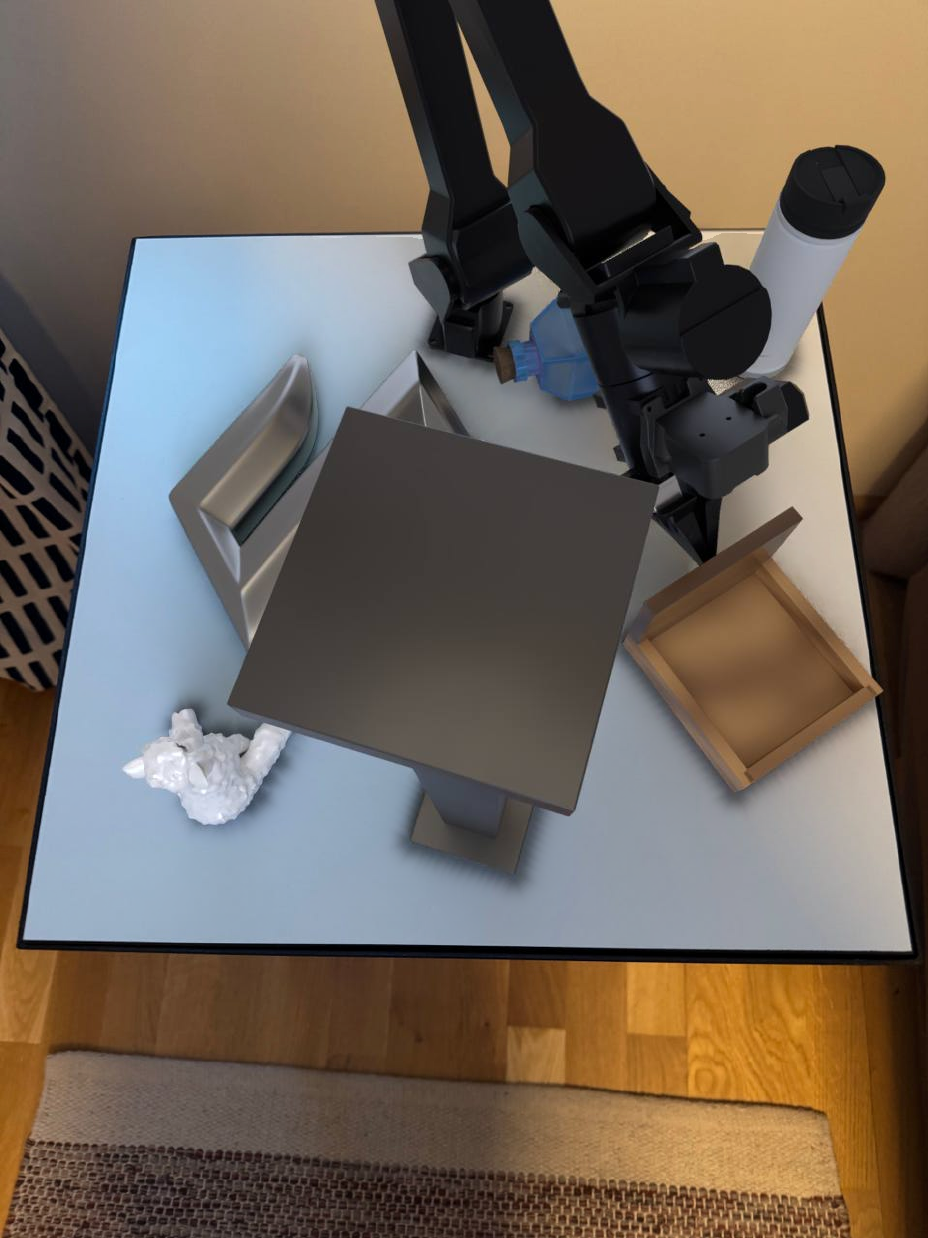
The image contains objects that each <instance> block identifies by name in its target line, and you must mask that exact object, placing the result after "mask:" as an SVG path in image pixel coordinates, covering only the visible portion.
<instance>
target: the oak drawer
mask: <svg viewBox="0 0 928 1238" xmlns="http://www.w3.org/2000/svg"><path fill="white" fill-rule="evenodd" d="M803 520H804V517H802V515H801V514H800V513H799V512H798V511H797V510H796V508H795V507H794V506H793V505H792V506H790V507H788V508H787V509H785V510H784V511H782V512H781V513H779V514H778V515H776V516H775V517H773V518H771V519H770V520H768V521H767V522H765V523H764V524H762V525H761V526H759V527H758V528H755V530H753V531H751V532H750V533H748V534H746V535H745V536H744V537H742V538H740V539H739V540H738V541H736V542H734V543H733V544H731V545H730V546H728V547H726V548H725V549H723V550H722V551H720V552H719V553H717V555H716V556H714V557H712V558H711V559H709V560H708V561H706V562H705V563H703V564H702V565H700V566H699V565H698V566H697V567H695V568H694V569H692V570H691V571H689V572H688V573H686V574H684V575H683V576H681V577H680V578H678V579H677V580H675V581H674V582H672V583H670V584H669V585H668V586H666V587H664V588H662V589H661V590H660V591H658V592H657V593H655V594H654V595H652V596H651V597H649V598H648V599H645V600H644V601H643V603H642V606H641V607H640V609H639V610H638V612H637V615H636V616H635V618H634V621H633V623H632V624H631V626H630V627H629V630H628V632H627V634H626V636H625V638H624V640H623V642H622V646H623V647H624V648H625V650H626V652H628V654H629V655H630V657H632V659H633V660H634V661H635V663H636V664H637V665H638V667H639V668H640V670H641V671H642V673H644V675H645V676H646V677H647V679H648V680H649V682H650V683H651V685H653V687H654V689H656V691H657V692H658V694H659V695H660V696H661V698H662V699H663V700H664V702H665V703H666V704H667V706H668V707H669V709H670V710H671V711H672V712H673V714H674V715H675V716H676V718H677V719H678V720H679V722H680V723H681V724H682V726H683V727H684V729H685V730H686V731H687V732H688V734H689V736H691V738H692V739H693V740H694V742H695V743H696V745H697V746H698V748H699V749H701V751H702V752H703V754H704V755H705V757H706V758H707V759H708V761H709V762H710V763H711V765H712V766H713V767H714V768H715V770H716V771H717V772H718V774H719V775H720V777H721V778H722V779H723V781H724V782H725V783H726V785H727V787H729V789H730V790H731V791H732V793H737V792H739V791H742V790H744V789H746V788H747V787H749V786H750V785H752V784H754V783H755V782H756V781H758V780H759V779H760V778H762V777H763V776H765V775H766V774H768V773H769V772H771V771H772V770H773V769H774V768H776V767H778V766H779V765H780V764H782V763H784V762H785V761H786V760H787V759H789V758H791V756H793V755H794V754H796V753H797V752H799V751H800V750H802V749H803V748H805V747H806V746H808V745H809V744H810V743H812V742H813V741H815V740H816V739H817V738H819V737H820V736H822V735H823V734H824V733H826V732H827V731H829V730H830V729H832V728H833V727H834V726H836V725H838V724H839V723H840V722H842V721H843V720H844V719H846V718H848V717H849V716H850V715H852V714H853V713H855V712H856V711H857V710H859V709H860V708H862V707H863V706H864V705H866V704H867V703H869V702H871V700H874V699H875V698H876V697H877V696H879V695H880V694H881V693H883V691H884V689H883V688H882V687H881V685H879V683H878V682H877V681H876V680H875V679H874V678H873V677H872V675H871V674H870V673H869V672H868V670H867V669H866V668H865V667H864V666H863V665H862V663H861V662H860V661H859V660H858V659H857V657H856V656H855V655H854V654H853V652H851V650H850V649H849V648H848V647H847V646H846V644H845V643H844V641H842V640H841V638H840V637H839V636H838V635H837V633H836V632H835V631H834V630H833V629H832V628H831V626H830V625H829V624H828V623H827V622H826V621H825V619H823V617H822V616H821V615H820V614H819V612H818V611H817V610H816V609H815V607H813V605H812V604H811V603H810V602H809V600H808V599H807V597H805V596H804V594H803V593H802V592H801V591H800V590H799V589H798V587H797V586H796V585H795V584H794V583H793V582H792V580H791V578H790V577H789V576H788V575H787V574H786V572H784V570H783V569H782V568H781V567H780V566H779V565H778V563H777V562H776V561H775V560H774V558H773V556H775V554H776V552H778V550H780V548H781V547H782V546H783V544H784V543H785V542H786V541H787V539H788V538H789V537H790V536H791V535H792V534H793V532H794V531H795V530H796V529H797V527H798V526H799V525H800V523H801V522H802V521H803Z"/></svg>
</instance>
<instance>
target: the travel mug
mask: <svg viewBox="0 0 928 1238" xmlns="http://www.w3.org/2000/svg"><path fill="white" fill-rule="evenodd" d="M886 180H887V177H886V172H885V170H884V167H883V165H882V164H881V162H879V160H878V159H877V158H876V157H875V156H873V155H872V154H871V153H869V152H867V151H865V150H863V149H861V148H858V147H856V146H852V145H849V144H834V146H830V145H829V146H821V147H817V148H816V147H815V148H813V149H807V150H806V151H804V152H801V153H799V155H797V157H796V158H795V159H794V161H793V163H792V165H791V167H790V170H789V173H788V175H787V177H786V180H785V183H784V184H783V187H782V188H781V190H780V193H779V194H778V197H777V199H776V202H775V204H774V207H773V210H772V211H771V214H770V216H769V219H768V221H767V224H766V227H765V228H764V232H763V234H762V236H761V239H760V241H759V244H758V246H757V248H756V251H755V254H754V255H753V258H752V260H751V263H750V266H749V268H748V270H749V271H750V272H752V273H753V274H754V275H755V276H756V277H757V278H758V280H759V281H760V283H761V284H762V286H763V287H764V288H766V289H767V290H768V294H769V297H770V300H771V308H772V321H771V329H770V333H769V337H768V340H767V343H766V345H765V347H764V349H763V351H762V353H761V354H760V356H759V357H758V359H757V360H756V362H755V363H754V364H753V365H752V366H751V367H750V368H749V369H747V370H746V371H745V372H744V373H742V374H741V375H739V376H738V377H740V378H742V379H745V378H747V377H750V378H759V377H761V376H766V377H768V378H770V379H771V378H774V377H775V376H778V375H779V374H781V372H783V370H784V369H785V368H786V367H787V365H788V363H789V361H790V359H791V358H792V356H793V354H794V353H795V350H796V349H797V347H798V345H799V343H800V341H801V339H802V338H803V336H804V334H805V333H806V331H807V329H808V327H809V325H810V323H811V322H812V320H813V318H814V316H815V314H816V312H817V311H818V309H819V307H820V306H821V304H822V302H823V300H824V298H825V296H826V294H827V292H828V291H829V289H830V288H831V285H832V283H833V282H834V280H835V278H836V276H837V275H838V272H839V271H840V270H841V268H842V266H843V264H844V261H845V260H846V258H847V257H848V255H849V253H850V252H851V250H852V247H853V246H854V244H855V242H856V240H857V238H858V237H859V235H860V233H861V231H862V229H863V228H864V226H865V224H866V222H867V220H868V218H869V215H870V213H871V212H872V210H873V209H874V206H875V205H876V203H877V201H878V199H879V197H880V195H881V193H882V192H883V190H884V188H885V186H886V182H887V181H886Z"/></svg>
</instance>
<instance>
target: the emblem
mask: <svg viewBox="0 0 928 1238" xmlns="http://www.w3.org/2000/svg"><path fill="white" fill-rule="evenodd" d="M318 406H319V405H318V398H317V391H316V385H315V380H314V375H313V372H312V367H311V365H310V362H309V359H308V357H307V356H305V355H302V354H300V353H295V354H293V355H292V356H291V357H290V358H289V359H288V360H287V361H286V362H285V364H283V366H282V367H281V368H280V370H278V371H277V373H276V374H275V376H273V378H272V379H271V380H270V381H269V383H267V385H266V386H265V387H264V388H263V389H262V390H261V391H260V392H259V393H258V394H257V396H255V398H254V399H253V400H252V401H251V402H250V403H249V404H248V405H247V406H246V407H245V408H244V409H243V410H242V411H241V413H240V414H239V415H238V416H237V417H236V418H235V419H234V420H233V421H232V422H231V424H230V425H229V426H228V427H227V428H226V429H225V430H224V431H223V432H222V433H221V435H219V437H218V438H217V439H216V440H215V441H214V442H213V443H212V445H211V446H210V447H208V449H207V450H206V451H205V452H204V453H203V455H201V457H200V458H199V459H198V460H197V461H196V462H195V463H194V465H192V467H191V468H190V469H189V470H188V471H187V472H186V473H185V474H184V475H183V477H182V478H181V479H180V480H179V481H178V482H177V483H176V484H175V485H174V486H173V487H172V489H171V490H170V491H169V494H168V501H169V504H170V506H171V508H172V510H173V512H174V514H175V516H176V519H177V520H178V522H179V524H180V526H181V528H182V530H183V532H184V534H185V536H186V538H187V540H188V542H189V543H190V546H191V547H192V550H193V551H194V553H195V555H196V557H197V560H198V561H199V563H200V566H201V567H202V569H203V571H204V572H205V575H206V576H207V578H208V581H209V582H210V585H211V586H212V588H213V590H214V592H215V594H216V596H217V598H218V600H219V602H220V604H221V606H222V608H223V610H224V611H225V613H226V616H227V617H228V619H229V622H230V624H231V625H232V627H233V629H234V631H235V632H236V635H237V636H238V639H239V640H240V642H241V644H242V647H243V648H244V649H245V651H246V653H247V652H248V650H249V647H250V645H251V642H252V640H253V637H254V635H255V632H256V630H257V627H258V625H259V622H260V620H261V617H262V615H263V612H264V610H265V608H266V605H267V603H268V600H269V598H270V595H271V593H272V590H273V588H274V585H275V583H276V580H277V578H278V575H279V573H280V570H281V568H282V565H283V563H284V560H285V558H286V555H287V553H288V550H289V548H290V546H291V543H292V541H293V538H294V536H295V533H296V531H297V528H298V526H299V523H300V521H301V518H302V516H303V513H304V511H305V508H306V506H307V503H308V501H309V498H310V496H311V493H312V491H313V489H314V486H315V484H316V481H317V479H318V476H319V474H320V471H321V469H322V466H323V464H324V461H325V459H326V456H327V454H328V451H329V449H330V446H331V444H332V441H333V439H334V436H333V437H332V438H331V440H330V441H329V442H328V443H327V444H326V445H325V447H324V448H323V449H322V450H321V451H320V452H319V453H318V454H317V456H316V457H315V458H314V459H313V460H312V461H311V462H310V463H309V465H308V466H307V467H306V468H305V469H304V470H303V472H302V473H301V474H299V473H300V471H301V470H302V469H303V467H304V466H305V464H306V462H307V461H308V459H309V457H310V455H311V453H312V452H313V451H312V450H313V448H314V445H315V442H316V439H317V438H316V437H317V433H318V426H319V407H318ZM358 409H361V410H365V411H369V412H373V413H377V414H380V415H384V416H388V417H392V418H396V419H400V420H404V421H408V422H412V423H416V424H420V425H424V426H428V427H432V428H435V429H439V430H443V431H447V432H451V433H455V434H459V435H463V436H467V437H471V438H472V436H471V435H470V433H469V431H468V430H467V428H466V427H465V425H464V424H463V422H462V420H461V419H460V417H459V415H458V414H457V412H456V411H455V409H454V408H453V405H452V404H451V403H450V401H449V399H448V398H447V396H446V394H445V393H444V391H443V389H442V388H441V386H440V385H439V383H438V382H437V380H436V378H435V376H434V375H433V373H432V372H431V370H430V368H429V367H428V365H427V364H426V362H425V360H424V359H423V358H422V355H420V353H419V352H418V350H417V349H413V350H411V351H410V352H409V353H408V354H407V355H406V356H405V357H404V359H403V360H401V362H400V363H399V364H398V365H397V366H396V367H395V368H394V370H393V371H392V372H390V373H389V375H388V376H387V377H386V378H385V380H384V381H383V382H382V383H380V385H379V386H378V387H377V389H375V391H374V392H373V393H372V394H371V395H370V396H369V397H368V398H367V400H365V402H364V403H363V404H362V405H361V406H360V407H359V408H358ZM298 474H299V476H298ZM297 476H298V477H297ZM296 477H297V478H296ZM295 478H296V480H295ZM294 480H295V481H294ZM293 481H294V482H293ZM292 482H293V483H292ZM289 486H290V487H289ZM288 487H289V488H288ZM283 493H284V494H283Z"/></svg>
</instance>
